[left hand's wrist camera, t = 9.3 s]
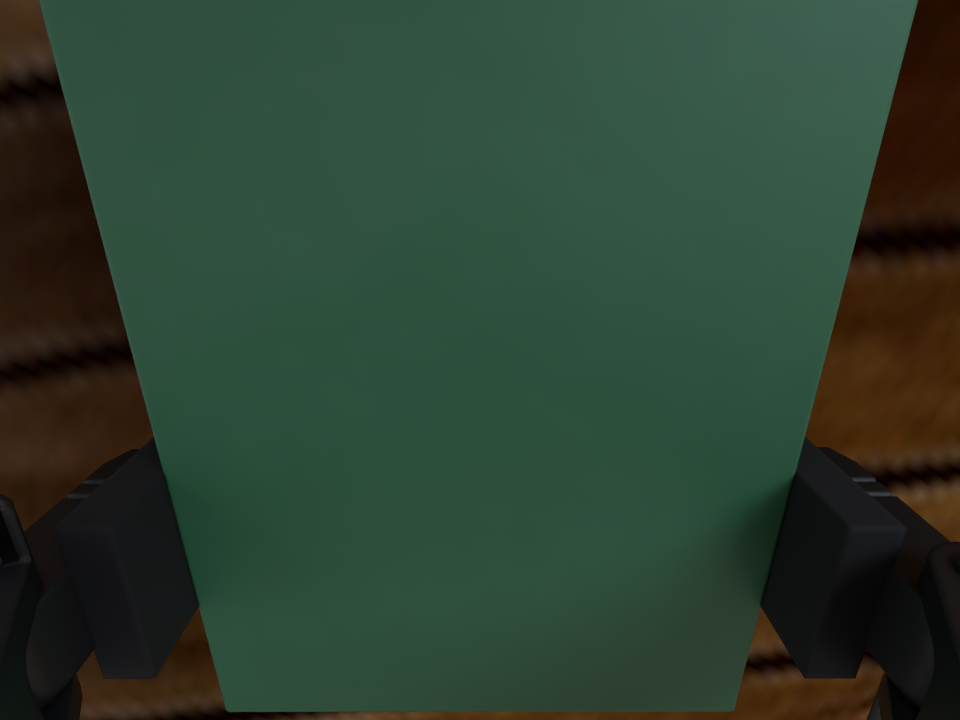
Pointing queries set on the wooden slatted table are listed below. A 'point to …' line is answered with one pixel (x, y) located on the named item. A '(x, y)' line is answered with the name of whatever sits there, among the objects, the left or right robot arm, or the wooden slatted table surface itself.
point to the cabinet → (479, 323)
